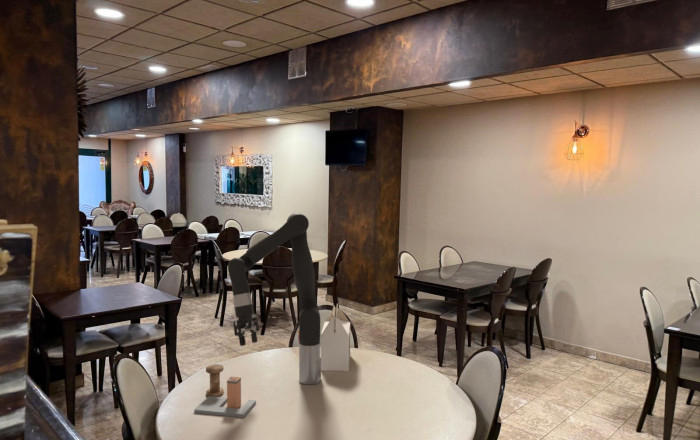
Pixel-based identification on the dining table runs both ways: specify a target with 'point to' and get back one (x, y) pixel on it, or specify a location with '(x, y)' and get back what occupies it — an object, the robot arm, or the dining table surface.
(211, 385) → the bobbin
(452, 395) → the dining table surface
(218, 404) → the notched board
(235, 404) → the orange tall block
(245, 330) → the robot arm
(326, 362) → the gable box
